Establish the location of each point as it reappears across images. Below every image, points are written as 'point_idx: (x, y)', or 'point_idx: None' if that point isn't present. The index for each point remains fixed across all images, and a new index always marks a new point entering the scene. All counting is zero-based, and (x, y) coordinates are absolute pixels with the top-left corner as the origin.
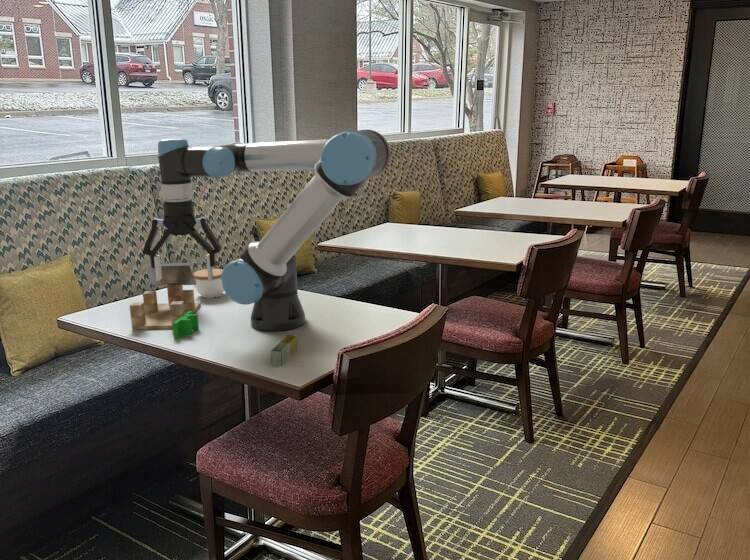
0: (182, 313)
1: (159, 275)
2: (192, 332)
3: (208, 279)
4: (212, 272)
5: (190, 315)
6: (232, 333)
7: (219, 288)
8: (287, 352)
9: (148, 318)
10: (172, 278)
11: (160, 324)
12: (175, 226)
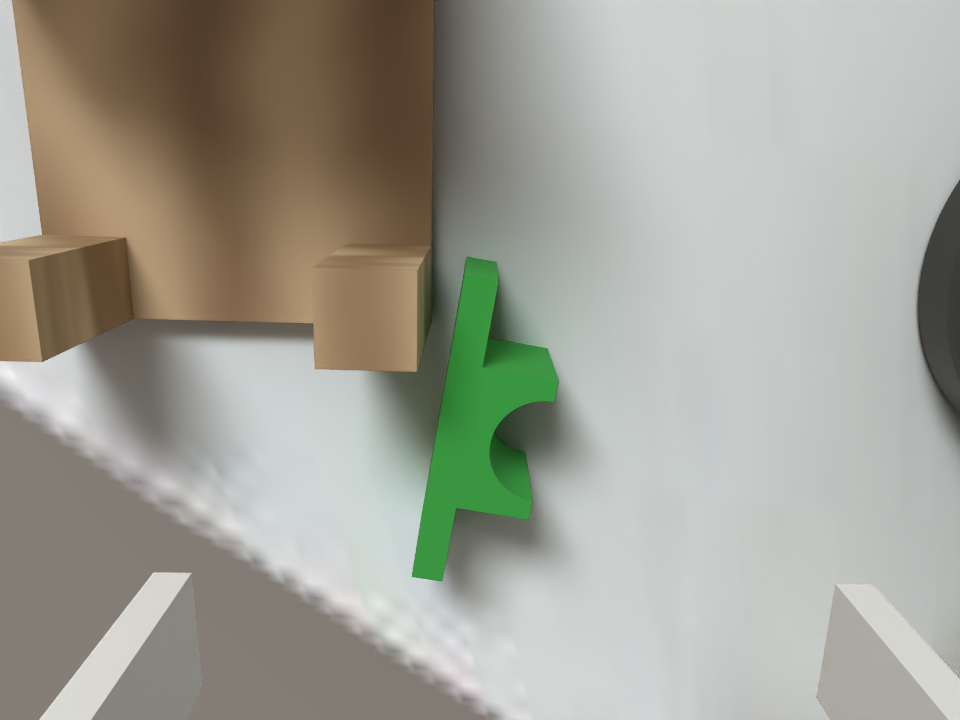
0: (424, 326)
1: (174, 709)
2: (526, 460)
3: (820, 698)
4: (907, 634)
5: (506, 405)
6: (786, 459)
7: None
8: None
9: (100, 121)
10: None
11: (255, 293)
12: None
